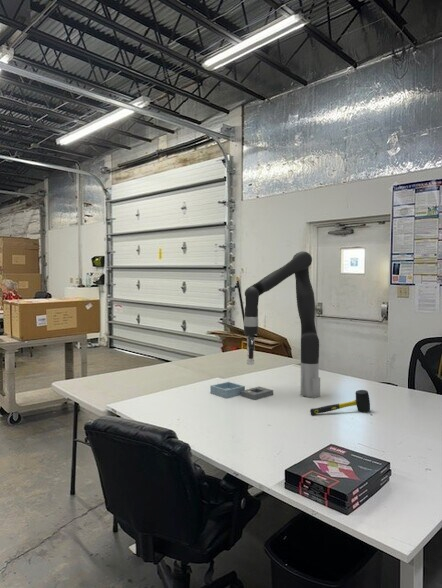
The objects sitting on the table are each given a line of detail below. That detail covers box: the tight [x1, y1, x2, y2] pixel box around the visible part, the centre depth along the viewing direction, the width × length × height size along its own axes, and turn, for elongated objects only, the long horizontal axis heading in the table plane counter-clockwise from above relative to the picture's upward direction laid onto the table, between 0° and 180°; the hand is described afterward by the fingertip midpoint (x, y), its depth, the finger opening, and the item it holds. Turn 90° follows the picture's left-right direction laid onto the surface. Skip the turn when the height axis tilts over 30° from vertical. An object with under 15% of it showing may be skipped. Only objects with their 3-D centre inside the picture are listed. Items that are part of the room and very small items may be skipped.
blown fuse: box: [246, 345, 255, 366], centre depth 215 cm, size 4×4×9 cm
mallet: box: [309, 389, 371, 416], centre depth 187 cm, size 29×6×10 cm, turn 103°
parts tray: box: [209, 381, 246, 399], centre depth 219 cm, size 13×13×4 cm
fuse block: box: [240, 386, 274, 401], centre depth 215 cm, size 10×14×3 cm
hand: (250, 357), depth 215 cm, fingers closed on blown fuse, 3 cm apart
